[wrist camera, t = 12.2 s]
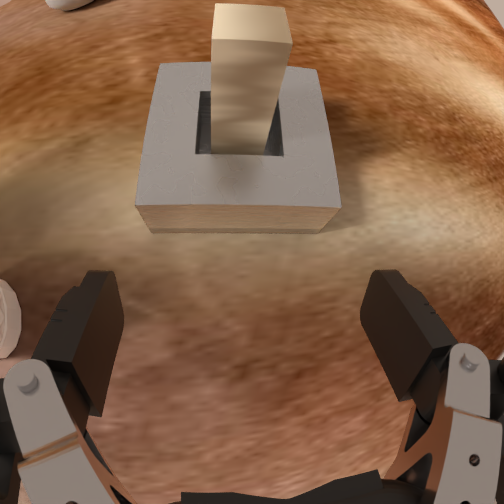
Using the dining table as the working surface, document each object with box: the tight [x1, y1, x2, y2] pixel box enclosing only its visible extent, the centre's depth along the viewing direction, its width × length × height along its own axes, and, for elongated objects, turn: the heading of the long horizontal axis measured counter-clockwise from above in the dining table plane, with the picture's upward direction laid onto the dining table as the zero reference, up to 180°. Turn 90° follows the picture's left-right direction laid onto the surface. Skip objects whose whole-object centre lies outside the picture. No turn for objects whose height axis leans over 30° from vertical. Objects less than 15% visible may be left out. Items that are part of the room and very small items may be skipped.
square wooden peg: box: [211, 4, 293, 155], centre depth 17 cm, size 3×3×12 cm
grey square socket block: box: [135, 62, 342, 234], centre depth 21 cm, size 12×12×5 cm
